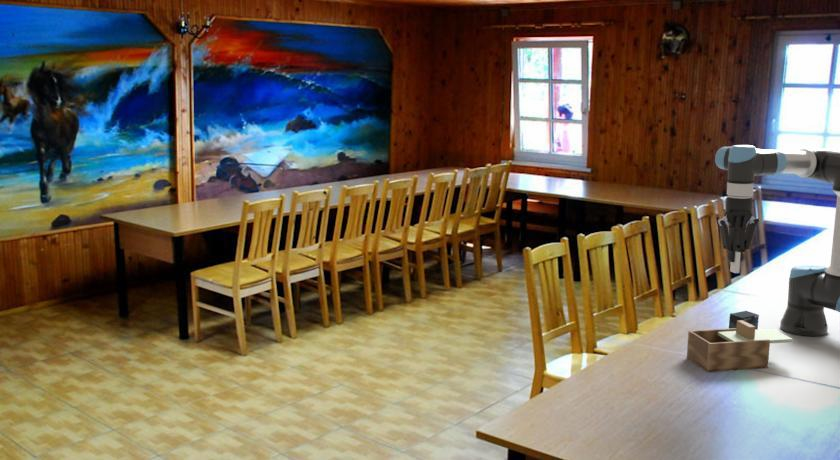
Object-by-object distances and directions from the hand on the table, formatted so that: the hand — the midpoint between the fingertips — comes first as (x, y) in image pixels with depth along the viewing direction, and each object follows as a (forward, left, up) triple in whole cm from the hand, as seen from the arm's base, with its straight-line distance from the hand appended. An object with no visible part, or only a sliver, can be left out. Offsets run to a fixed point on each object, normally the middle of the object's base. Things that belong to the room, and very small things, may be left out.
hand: (734, 272), depth 250 cm
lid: (-8, +1, -22) cm, 23 cm away
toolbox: (+1, +1, -29) cm, 29 cm away
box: (-14, -15, -29) cm, 36 cm away
